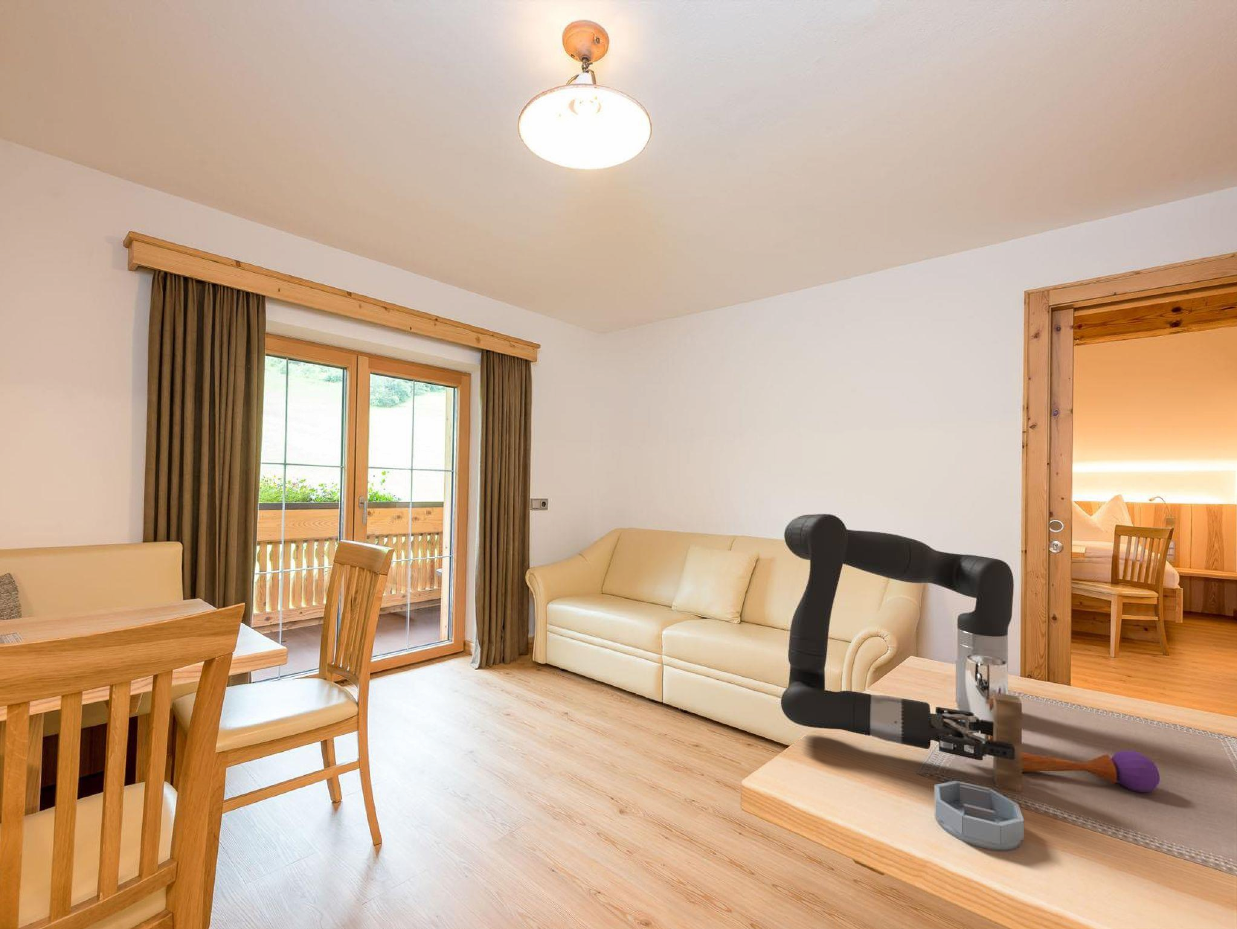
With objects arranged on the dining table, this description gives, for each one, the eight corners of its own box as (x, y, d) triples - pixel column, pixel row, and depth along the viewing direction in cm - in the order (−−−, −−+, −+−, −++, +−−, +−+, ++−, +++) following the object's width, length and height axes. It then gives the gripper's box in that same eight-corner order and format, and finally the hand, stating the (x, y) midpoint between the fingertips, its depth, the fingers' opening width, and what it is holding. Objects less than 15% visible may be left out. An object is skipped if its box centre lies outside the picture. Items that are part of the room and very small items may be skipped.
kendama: (1004, 738, 100) (1142, 747, 94) (1009, 774, 99) (1150, 787, 93) (1015, 746, 95) (1163, 757, 88) (1021, 785, 93) (1172, 799, 87)
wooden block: (996, 786, 91) (996, 699, 91) (993, 776, 94) (993, 692, 94) (1021, 792, 89) (1021, 703, 90) (1017, 781, 92) (1017, 696, 93)
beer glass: (969, 742, 107) (969, 662, 107) (961, 727, 113) (962, 652, 113) (1012, 749, 104) (1012, 667, 104) (1002, 733, 110) (1002, 656, 111)
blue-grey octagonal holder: (936, 835, 78) (937, 806, 78) (933, 798, 87) (933, 772, 87) (1028, 860, 73) (1028, 828, 73) (1014, 817, 82) (1014, 790, 83)
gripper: (899, 713, 93) (1018, 735, 85) (899, 686, 106) (1003, 703, 98) (899, 759, 93) (1018, 785, 85) (899, 726, 105) (1003, 746, 98)
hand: (1010, 741), depth 92 cm, fingers open, 8 cm apart
